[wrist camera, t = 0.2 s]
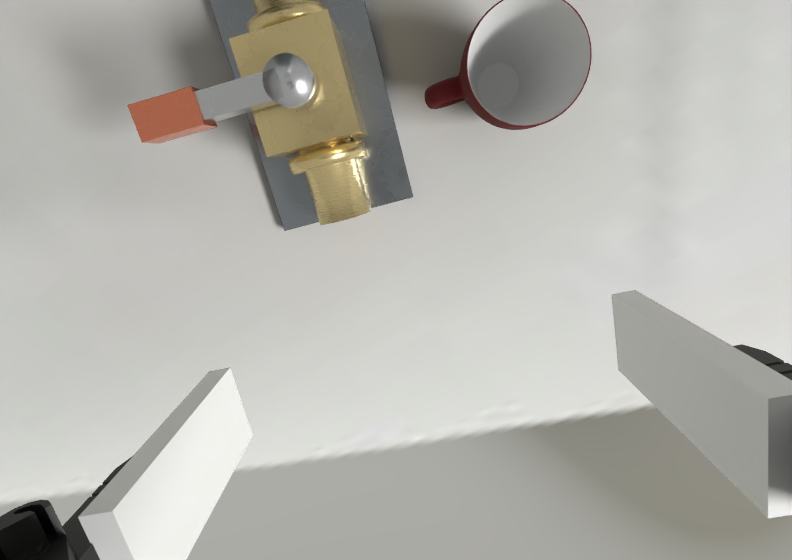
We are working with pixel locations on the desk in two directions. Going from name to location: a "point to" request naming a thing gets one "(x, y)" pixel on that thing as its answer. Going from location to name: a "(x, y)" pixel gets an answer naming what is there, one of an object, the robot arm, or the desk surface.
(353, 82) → the valve block
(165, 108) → the lever
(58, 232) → the desk surface
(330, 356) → the desk surface
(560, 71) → the mug
